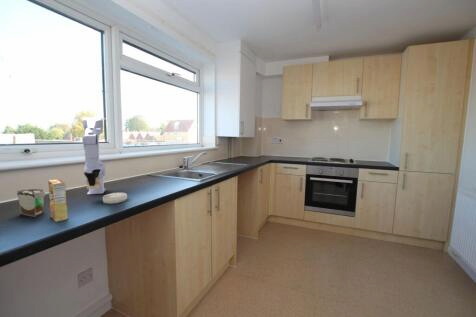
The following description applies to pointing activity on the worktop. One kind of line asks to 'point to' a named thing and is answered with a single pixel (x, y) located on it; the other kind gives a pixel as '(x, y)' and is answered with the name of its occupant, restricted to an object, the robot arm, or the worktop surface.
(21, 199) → the food container
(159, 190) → the worktop surface
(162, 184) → the worktop surface
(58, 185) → the candy box
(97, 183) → the beech block
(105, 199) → the ceramic plinth
